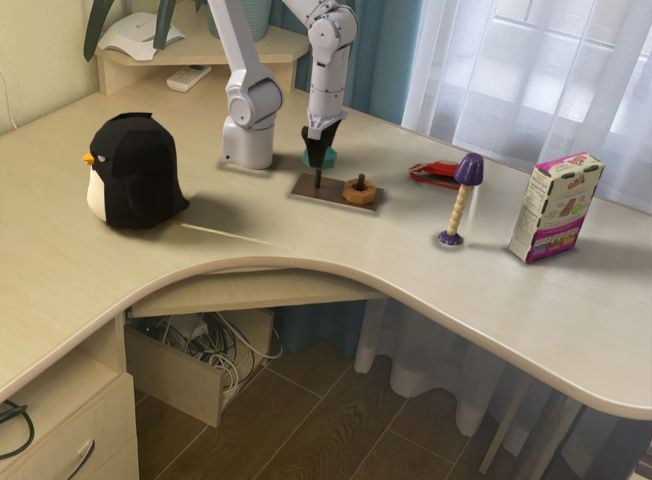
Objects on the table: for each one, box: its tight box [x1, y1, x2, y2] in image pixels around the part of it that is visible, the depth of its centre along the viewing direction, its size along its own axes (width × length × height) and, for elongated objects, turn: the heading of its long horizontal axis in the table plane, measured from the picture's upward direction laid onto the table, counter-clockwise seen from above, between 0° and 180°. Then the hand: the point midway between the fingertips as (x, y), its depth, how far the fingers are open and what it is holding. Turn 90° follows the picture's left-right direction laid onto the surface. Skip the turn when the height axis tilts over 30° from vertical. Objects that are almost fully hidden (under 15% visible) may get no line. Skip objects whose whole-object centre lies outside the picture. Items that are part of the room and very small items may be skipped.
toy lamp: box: [437, 152, 485, 246], centre depth 123 cm, size 5×5×17 cm
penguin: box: [81, 111, 191, 232], centre depth 125 cm, size 18×18×17 cm
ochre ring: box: [343, 177, 378, 204], centre depth 137 cm, size 6×6×2 cm
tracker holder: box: [407, 160, 461, 191], centre depth 143 cm, size 12×4×10 cm
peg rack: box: [290, 169, 385, 212], centre depth 137 cm, size 16×8×5 cm, turn 73°
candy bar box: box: [507, 151, 606, 264], centre depth 123 cm, size 11×5×16 cm, turn 117°
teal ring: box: [302, 146, 338, 171], centre depth 135 cm, size 6×6×2 cm
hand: (319, 158), depth 135 cm, fingers closed on teal ring, 6 cm apart
